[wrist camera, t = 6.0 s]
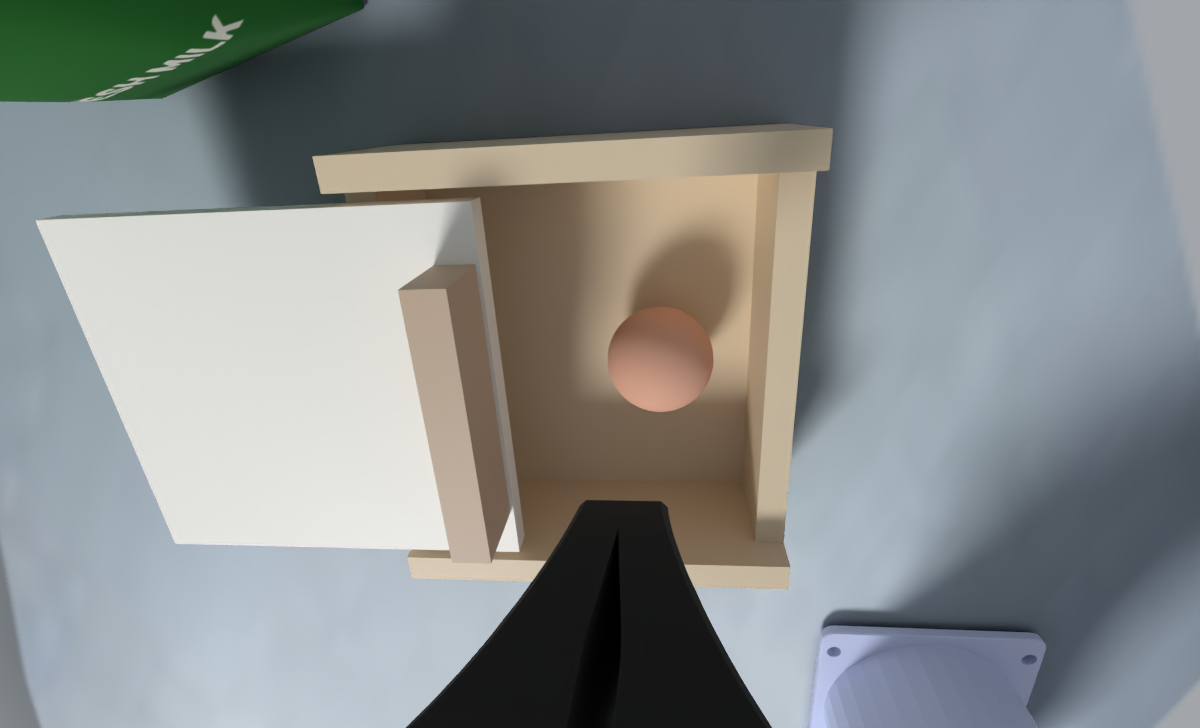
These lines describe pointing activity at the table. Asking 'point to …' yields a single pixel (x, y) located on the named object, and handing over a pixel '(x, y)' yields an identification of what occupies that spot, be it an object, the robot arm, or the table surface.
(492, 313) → the lid
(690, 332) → the ball
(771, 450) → the box
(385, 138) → the table surface
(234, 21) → the milk carton
